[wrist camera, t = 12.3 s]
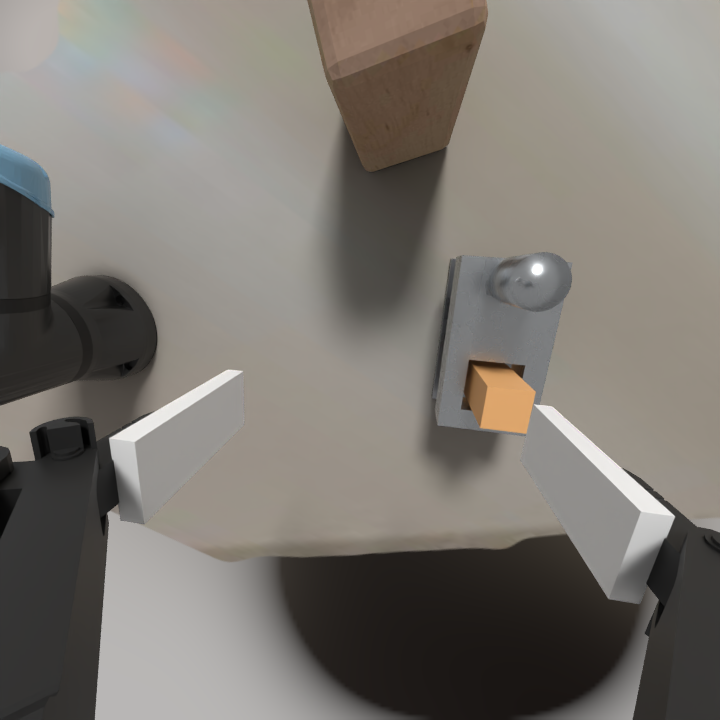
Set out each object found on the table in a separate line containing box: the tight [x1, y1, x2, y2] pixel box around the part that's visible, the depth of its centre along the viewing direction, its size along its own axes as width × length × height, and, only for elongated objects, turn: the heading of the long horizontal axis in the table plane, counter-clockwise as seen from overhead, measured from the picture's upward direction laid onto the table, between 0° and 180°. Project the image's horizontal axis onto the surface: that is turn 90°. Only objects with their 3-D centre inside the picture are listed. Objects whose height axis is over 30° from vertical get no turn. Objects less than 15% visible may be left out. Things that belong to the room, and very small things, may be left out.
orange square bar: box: [464, 360, 536, 434], centre depth 36 cm, size 4×4×14 cm
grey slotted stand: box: [432, 252, 572, 436], centre depth 35 cm, size 10×18×16 cm, turn 176°
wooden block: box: [307, 0, 488, 172], centre depth 28 cm, size 10×10×20 cm
